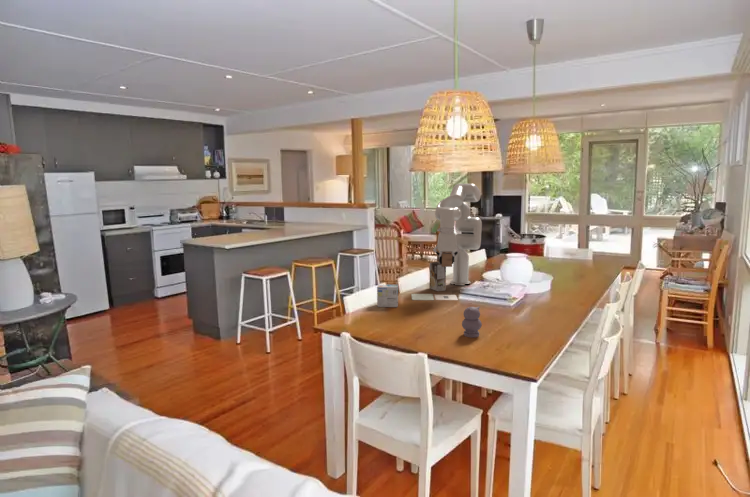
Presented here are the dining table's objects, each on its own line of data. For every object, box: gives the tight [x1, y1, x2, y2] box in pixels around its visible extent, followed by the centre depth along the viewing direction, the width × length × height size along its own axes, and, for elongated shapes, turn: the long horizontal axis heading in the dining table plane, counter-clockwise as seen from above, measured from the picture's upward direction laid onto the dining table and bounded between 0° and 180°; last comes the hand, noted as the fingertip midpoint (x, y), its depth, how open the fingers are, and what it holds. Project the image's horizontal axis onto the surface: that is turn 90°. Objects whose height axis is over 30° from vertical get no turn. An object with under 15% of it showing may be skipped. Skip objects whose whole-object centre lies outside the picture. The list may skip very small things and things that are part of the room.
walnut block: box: [441, 252, 453, 268], centre depth 253 cm, size 6×6×7 cm
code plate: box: [434, 294, 459, 301], centre depth 256 cm, size 12×12×1 cm
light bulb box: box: [376, 283, 399, 308], centre depth 239 cm, size 11×7×11 cm, turn 84°
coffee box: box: [429, 261, 447, 292], centre depth 275 cm, size 9×6×16 cm
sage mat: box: [410, 293, 435, 301], centre depth 257 cm, size 14×12×1 cm
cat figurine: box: [461, 306, 483, 338], centre depth 192 cm, size 8×8×12 cm
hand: (446, 263), depth 254 cm, fingers closed on walnut block, 5 cm apart
